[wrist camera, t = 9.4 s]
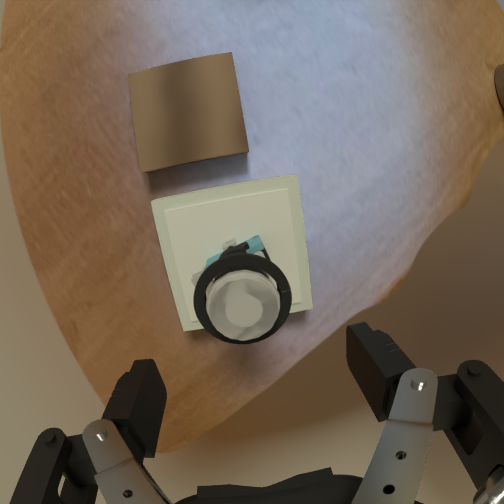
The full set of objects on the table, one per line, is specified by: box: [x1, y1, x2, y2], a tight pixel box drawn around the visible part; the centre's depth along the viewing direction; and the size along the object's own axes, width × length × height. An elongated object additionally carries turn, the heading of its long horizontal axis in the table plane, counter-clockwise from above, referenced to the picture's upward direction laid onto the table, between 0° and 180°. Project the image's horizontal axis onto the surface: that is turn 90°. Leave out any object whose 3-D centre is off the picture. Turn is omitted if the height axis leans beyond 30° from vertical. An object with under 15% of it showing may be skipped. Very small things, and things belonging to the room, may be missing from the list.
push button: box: [191, 235, 292, 344], centre depth 20 cm, size 7×5×10 cm
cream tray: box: [151, 175, 312, 331], centre depth 26 cm, size 12×12×3 cm
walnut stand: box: [128, 52, 249, 173], centre depth 22 cm, size 9×9×2 cm
